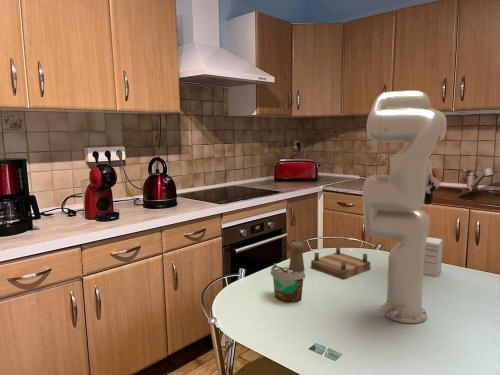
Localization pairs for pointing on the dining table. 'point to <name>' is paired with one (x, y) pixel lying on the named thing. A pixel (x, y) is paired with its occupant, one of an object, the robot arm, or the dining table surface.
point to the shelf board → (340, 264)
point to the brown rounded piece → (296, 257)
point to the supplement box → (433, 257)
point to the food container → (287, 284)
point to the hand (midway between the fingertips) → (415, 202)
